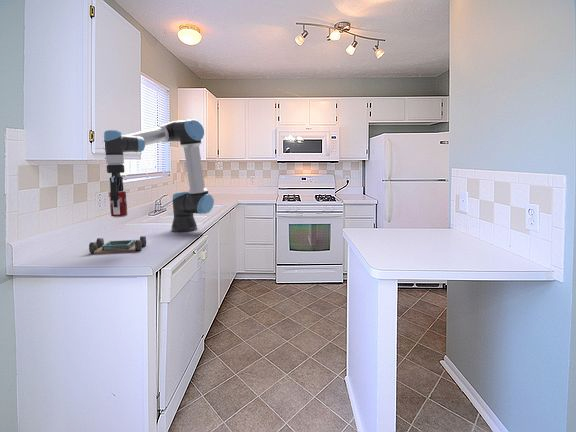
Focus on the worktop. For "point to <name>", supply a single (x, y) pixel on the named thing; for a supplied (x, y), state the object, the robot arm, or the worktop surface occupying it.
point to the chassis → (117, 246)
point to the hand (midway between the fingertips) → (119, 213)
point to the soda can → (121, 203)
